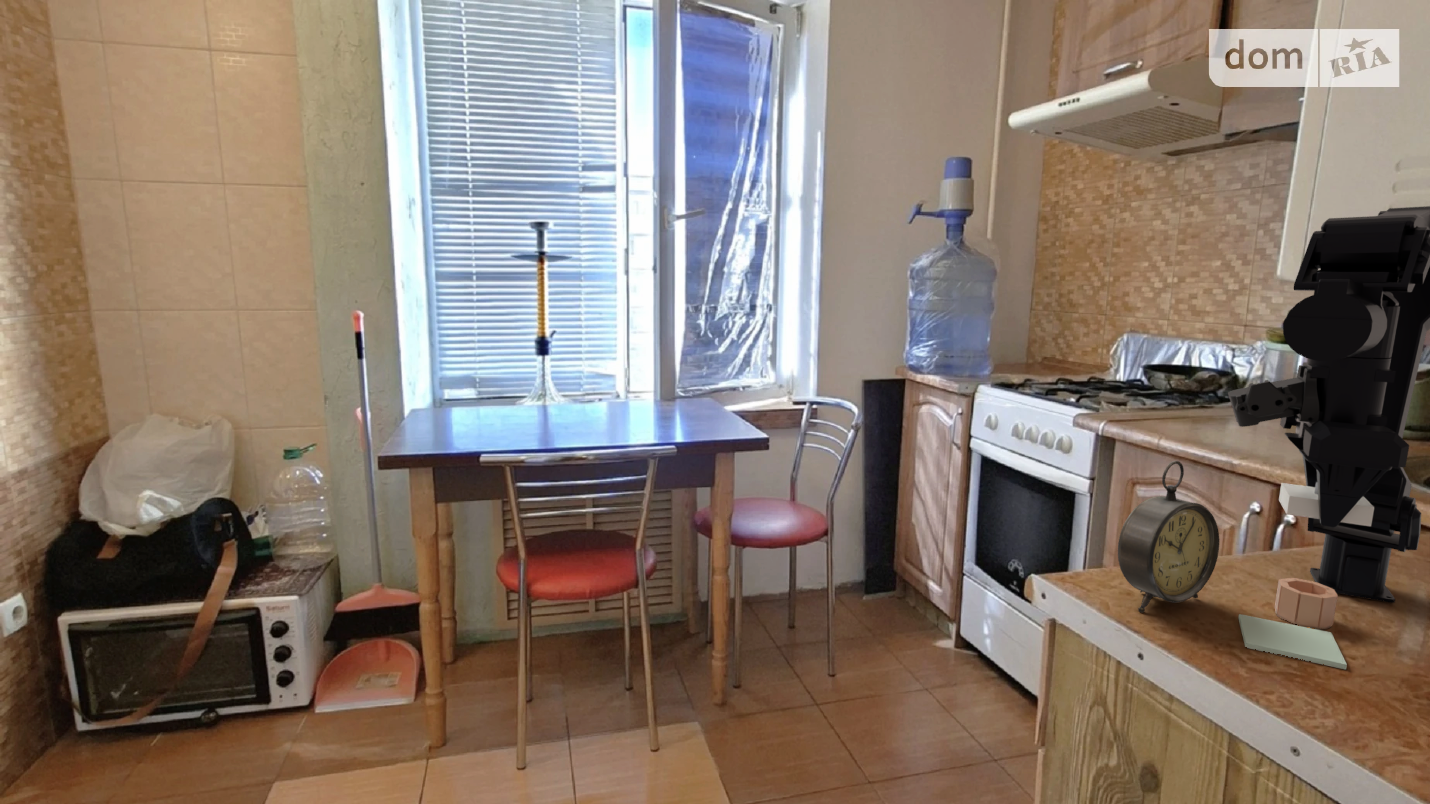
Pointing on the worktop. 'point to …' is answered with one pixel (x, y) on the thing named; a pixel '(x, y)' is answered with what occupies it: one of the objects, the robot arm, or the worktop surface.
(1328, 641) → the mat
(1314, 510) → the cover
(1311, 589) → the bowl
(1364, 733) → the worktop surface
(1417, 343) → the robot arm
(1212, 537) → the alarm clock
